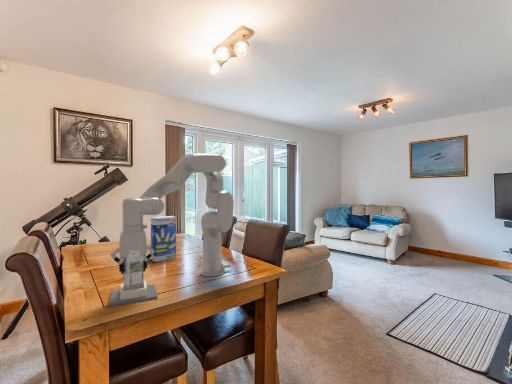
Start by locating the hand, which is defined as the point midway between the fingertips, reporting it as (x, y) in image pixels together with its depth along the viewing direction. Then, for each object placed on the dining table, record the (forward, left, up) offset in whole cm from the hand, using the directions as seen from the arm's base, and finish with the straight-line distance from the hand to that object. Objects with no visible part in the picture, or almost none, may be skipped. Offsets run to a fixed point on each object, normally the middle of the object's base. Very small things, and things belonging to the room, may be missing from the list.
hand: (133, 271), depth 108 cm
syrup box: (0, 0, -5) cm, 5 cm away
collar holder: (0, 0, -10) cm, 10 cm away
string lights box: (-17, -51, -10) cm, 55 cm away
